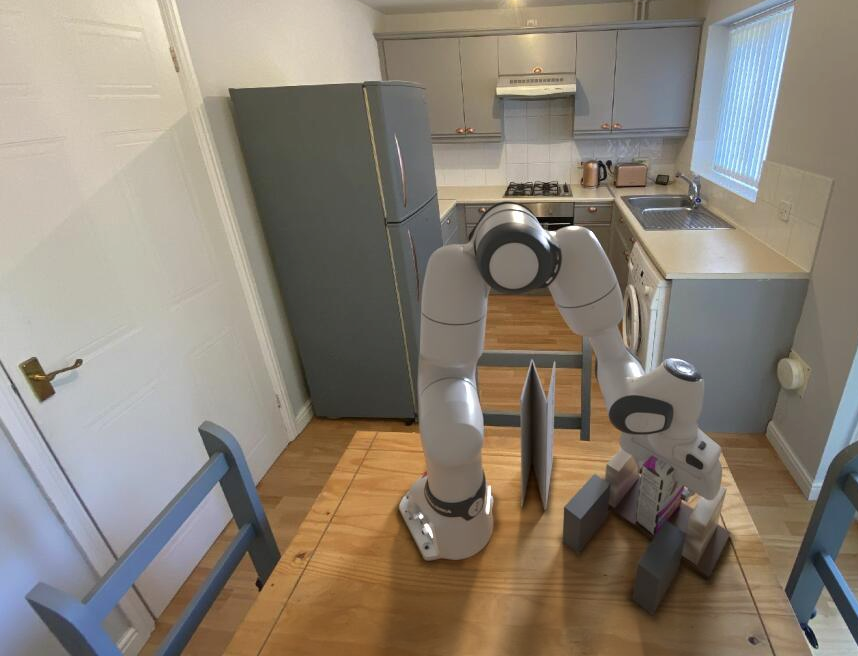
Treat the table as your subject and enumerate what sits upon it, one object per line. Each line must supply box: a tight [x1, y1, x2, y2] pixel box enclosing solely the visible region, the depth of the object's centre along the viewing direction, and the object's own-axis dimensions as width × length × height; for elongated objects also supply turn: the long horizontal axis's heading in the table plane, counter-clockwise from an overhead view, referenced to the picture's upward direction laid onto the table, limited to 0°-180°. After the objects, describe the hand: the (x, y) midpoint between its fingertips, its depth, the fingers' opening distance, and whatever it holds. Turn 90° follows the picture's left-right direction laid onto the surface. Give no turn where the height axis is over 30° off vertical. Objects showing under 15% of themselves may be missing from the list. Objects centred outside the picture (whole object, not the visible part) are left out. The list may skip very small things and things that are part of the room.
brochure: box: [519, 358, 556, 511], centre depth 95 cm, size 14×6×30 cm, turn 168°
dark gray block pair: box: [562, 473, 686, 616], centre depth 82 cm, size 20×11×10 cm, turn 46°
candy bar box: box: [636, 456, 685, 535], centre depth 88 cm, size 11×5×16 cm, turn 131°
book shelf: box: [604, 448, 732, 581], centre depth 89 cm, size 26×12×12 cm, turn 46°
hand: (662, 485), depth 88 cm, fingers open, 8 cm apart
